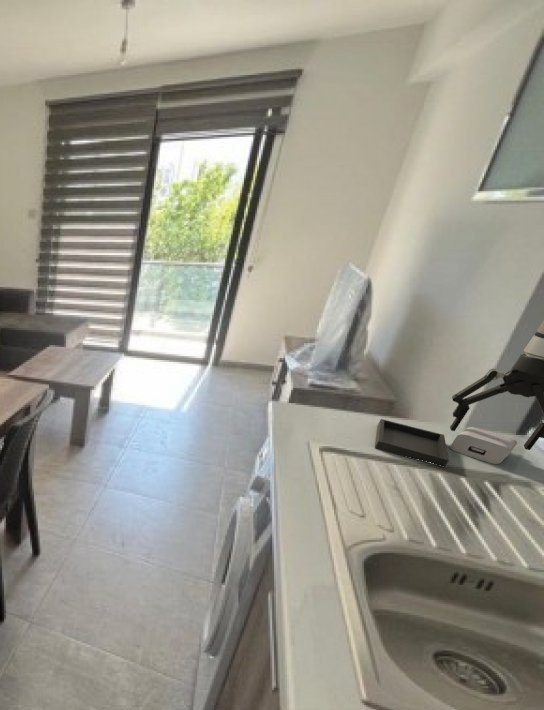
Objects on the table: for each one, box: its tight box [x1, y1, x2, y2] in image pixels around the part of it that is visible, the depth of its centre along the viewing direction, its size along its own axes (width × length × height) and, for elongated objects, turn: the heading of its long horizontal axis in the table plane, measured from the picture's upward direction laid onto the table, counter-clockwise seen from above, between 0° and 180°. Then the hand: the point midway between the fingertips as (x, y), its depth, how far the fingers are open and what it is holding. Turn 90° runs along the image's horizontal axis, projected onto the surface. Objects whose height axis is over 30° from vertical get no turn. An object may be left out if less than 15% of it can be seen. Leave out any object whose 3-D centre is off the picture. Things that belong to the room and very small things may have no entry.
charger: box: [449, 426, 518, 465], centre depth 121 cm, size 5×9×15 cm
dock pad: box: [374, 418, 450, 468], centre depth 122 cm, size 13×19×2 cm
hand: (488, 438), depth 121 cm, fingers open, 13 cm apart
